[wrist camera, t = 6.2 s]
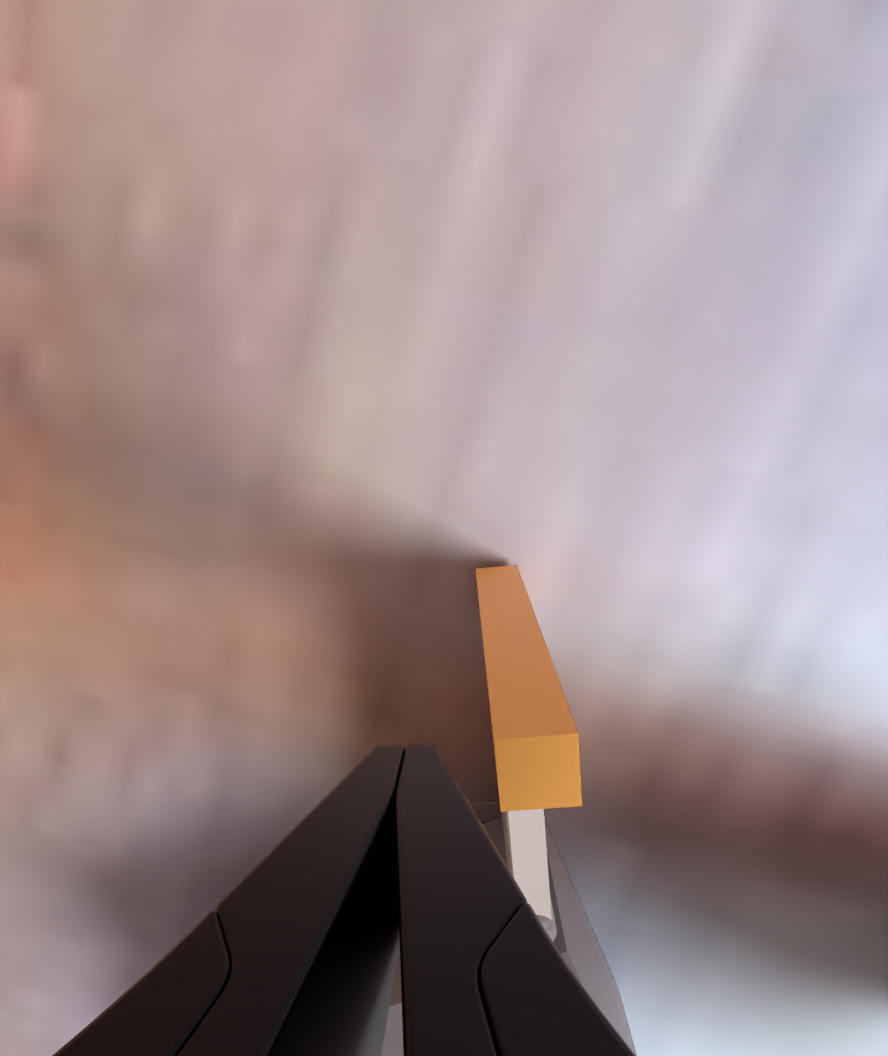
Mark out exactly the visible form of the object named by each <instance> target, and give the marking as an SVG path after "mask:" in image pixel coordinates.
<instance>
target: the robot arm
mask: <svg viewBox="0 0 888 1056" xmlns="http://www.w3.org/2000/svg"><path fill="white" fill-rule="evenodd" d="M399 946H400V968H401V996H402V1024H403V1052H404V1056H636V1055H635V1054H634V1053H633V1051H632V1050H631V1049H630V1047H629V1046H628V1045H627V1044H626V1042H625V1041H624V1040H623V1038H622V1037H621V1036H620V1035H619V1033H618V1032H617V1031H616V1029H615V1028H614V1027H613V1026H612V1024H611V1023H610V1022H609V1020H608V1019H607V1018H606V1017H605V1015H604V1014H603V1013H602V1011H601V1010H600V1009H599V1007H598V1006H597V1004H596V1003H595V1002H594V1000H593V999H592V998H591V996H590V995H589V994H588V992H587V991H586V990H585V988H584V987H583V985H582V984H581V983H580V981H579V980H578V979H577V977H576V976H575V975H574V973H573V972H572V971H571V969H570V968H569V966H568V965H567V963H566V961H565V960H564V958H563V957H562V955H561V954H560V952H559V951H558V949H557V947H556V946H555V944H554V943H553V941H552V940H551V938H550V937H549V935H548V934H547V932H546V930H545V929H544V927H543V925H542V924H541V922H540V920H539V919H538V917H537V915H536V914H535V912H534V910H533V909H532V907H531V905H530V904H529V903H527V900H526V897H525V896H524V894H523V892H522V891H521V889H520V887H519V886H518V884H517V882H516V881H515V879H514V877H513V876H512V874H511V872H510V871H509V869H508V867H507V866H506V864H505V862H504V860H503V859H502V857H501V855H500V854H499V852H498V850H497V849H496V847H495V845H494V844H493V842H492V840H491V839H490V837H489V835H488V834H487V832H486V830H485V829H484V827H483V825H482V823H481V822H480V820H479V818H478V817H477V815H476V813H475V812H474V810H473V808H472V807H471V805H470V803H469V802H468V800H467V798H466V797H465V795H464V793H463V792H462V790H461V788H460V786H459V785H458V783H457V781H456V780H455V778H454V776H453V775H452V773H451V771H450V770H449V768H448V766H447V765H446V763H445V761H444V760H443V758H442V756H441V755H440V753H439V751H438V750H437V748H436V747H435V745H433V744H411V745H408V746H407V747H406V749H405V747H404V746H403V745H380V746H377V747H375V748H374V749H373V750H372V751H371V752H370V753H369V754H368V755H367V756H366V757H365V758H364V759H363V760H362V761H361V762H360V763H359V764H358V765H357V766H356V767H355V768H354V769H353V770H352V771H351V772H350V773H349V774H348V775H347V776H346V777H345V778H344V779H343V780H342V781H341V782H340V783H339V784H338V785H337V786H336V787H335V788H334V789H333V790H332V791H331V792H330V793H329V794H328V795H327V796H326V797H325V798H324V799H323V800H322V801H321V802H320V803H319V804H318V805H317V806H316V807H315V808H314V809H313V810H312V811H311V812H310V813H309V814H308V815H307V816H306V817H305V818H304V819H303V820H302V821H301V822H300V823H299V824H298V825H297V826H296V827H295V828H294V829H293V830H292V831H291V832H290V833H289V834H288V835H287V836H286V837H285V838H284V839H283V840H282V841H281V842H280V843H279V844H278V845H277V846H276V847H275V848H274V849H273V850H272V851H271V852H270V853H269V854H268V855H267V856H266V857H265V858H264V859H263V860H262V861H261V862H260V863H259V864H258V865H257V866H256V867H255V868H254V869H253V870H252V871H251V872H250V873H249V874H248V875H247V876H246V877H245V878H244V879H243V880H242V881H241V882H240V883H239V884H238V885H237V886H236V887H235V888H234V889H233V890H232V891H231V892H230V893H229V894H228V895H227V896H226V897H225V898H224V899H223V900H222V901H221V902H220V903H219V904H218V905H217V906H216V911H211V912H209V913H208V914H207V915H206V916H205V917H204V918H203V919H202V920H201V921H200V922H199V923H198V924H197V925H196V926H195V927H194V928H193V929H192V930H191V931H190V932H189V933H188V934H187V935H186V936H185V937H184V938H183V939H182V940H181V941H180V942H179V943H178V944H177V945H176V946H175V947H174V948H173V949H172V950H171V951H170V952H168V953H167V954H166V955H165V956H164V957H163V958H162V959H161V960H160V961H159V962H158V963H157V964H156V965H155V966H154V967H153V968H152V969H151V970H150V971H149V972H148V973H146V974H145V975H144V976H143V977H142V978H141V979H140V980H139V981H138V982H136V983H135V984H134V985H133V986H132V987H131V988H130V989H129V990H127V991H126V992H125V993H124V994H123V995H122V996H121V997H120V998H118V999H117V1000H116V1001H115V1002H114V1003H113V1004H112V1005H110V1006H109V1007H108V1008H107V1009H106V1010H105V1011H104V1012H103V1013H101V1014H100V1015H99V1016H98V1017H97V1018H96V1019H95V1020H93V1021H92V1022H91V1023H90V1024H89V1025H88V1026H87V1027H85V1028H84V1029H83V1030H82V1031H81V1032H80V1033H78V1034H77V1035H76V1036H75V1037H74V1038H73V1039H71V1040H70V1041H69V1042H68V1043H67V1044H66V1045H64V1046H63V1047H62V1048H61V1049H60V1050H58V1051H57V1052H56V1053H55V1054H54V1055H53V1056H381V1053H382V1047H383V1041H384V1035H385V1029H386V1023H387V1017H388V1011H389V1005H390V999H391V993H392V987H393V981H394V975H395V969H396V963H397V958H398V952H399Z"/></svg>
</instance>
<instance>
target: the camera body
mask: <svg viewBox="0 0 888 1056" xmlns="http://www.w3.org/2000/svg"><path fill="white" fill-rule="evenodd" d="M482 825H483V827H484V829H485V830H486V832H487V834H488V835H489V837H490V839H491V840H492V842H493V844H494V845H495V847H496V849H497V850H498V852H499V854H500V855H501V857H502V859H503V860H504V862H505V864H506V866H507V860H506V850H505V841H504V832H503V822H502V817H500V818H497V819H495V820H492V821H489V822H486V823H483V824H482ZM545 833H546V847H547V861H548V875H549V889H550V897H551V902H552V908H553V913H554V918H555V924H556V929H557V934H556V938H555V940H554V941H553V943H554V944H555V946H556V947H557V949H558V951H559V952H560V954H561V955H562V957H563V958H564V960H565V961H566V963H567V965H568V966H569V968H570V969H571V971H572V972H573V973H574V975H575V976H576V977H577V979H578V980H579V981H580V983H581V984H582V985H583V987H584V988H585V990H586V991H587V992H588V994H589V995H590V996H591V998H592V999H593V1000H594V1002H595V1003H596V1004H597V1006H598V1007H599V1009H600V1010H601V1011H602V1013H603V1014H604V1015H605V1017H606V1018H607V1019H608V1020H609V1022H610V1023H611V1024H612V1026H613V1027H614V1028H615V1029H616V1031H617V1032H618V1033H619V1035H620V1036H621V1037H622V1038H623V1040H624V1041H625V1042H626V1044H627V1045H628V1046H629V1047H630V1049H631V1050H632V1051H633V1053H634V1054H635V1055H636V1056H637V1054H636V1051H635V1047H634V1043H633V1040H632V1036H631V1032H630V1029H629V1025H628V1021H627V1018H626V1014H625V1011H624V1007H623V1003H622V1000H621V996H620V992H619V989H618V986H617V984H616V981H615V979H614V977H613V975H612V972H611V970H610V968H609V966H608V963H607V961H606V959H605V956H604V954H603V952H602V950H601V947H600V945H599V943H598V940H597V938H596V936H595V934H594V931H593V929H592V927H591V925H590V922H589V920H588V918H587V915H586V913H585V911H584V909H583V906H582V904H581V902H580V900H579V897H578V895H577V893H576V890H575V888H574V886H573V884H572V881H571V879H570V877H569V874H568V872H567V870H566V868H565V865H564V863H563V861H562V859H561V856H560V854H559V852H558V849H557V847H556V845H555V843H554V840H553V838H552V836H551V833H550V831H549V829H548V827H547V824H546V822H545ZM381 1056H404V1052H403V1024H402V996H401V968H400V946H399V952H398V958H397V963H396V969H395V975H394V981H393V987H392V993H391V999H390V1005H389V1011H388V1017H387V1023H386V1029H385V1035H384V1041H383V1047H382V1053H381Z"/></svg>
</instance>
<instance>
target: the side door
mask: <svg viewBox="0 0 888 1056" xmlns="http://www.w3.org/2000/svg"><path fill="white" fill-rule="evenodd" d="M476 579H477V589H478V600H479V611H480V620H481V630H482V639H483V649H484V658H485V668H486V677H487V686H488V696H489V705H490V715H491V724H492V734H493V743H494V753H495V762H496V772H497V781H498V791H499V800H500V810H501V813H502V822H503V832H504V841H505V850H506V860H507V867H508V869H509V871H510V872H511V874H512V876H513V877H514V879H515V881H516V882H517V884H518V886H519V887H520V889H521V891H522V892H523V894H524V896H525V897H526V900H527V903H529V904H530V905H531V907H532V909H533V910H534V912H535V914H536V915H537V917H538V919H539V920H540V922H541V924H542V925H543V927H544V929H545V930H546V932H547V934H548V935H549V937H550V938H551V940H552V941H554V940H555V938H556V934H557V929H556V924H555V918H554V913H553V908H552V902H551V897H550V889H549V875H548V861H547V847H546V833H545V819H544V809H549V808H563V807H577V806H582V793H581V775H580V757H579V738H578V731H577V729H576V726H575V723H574V720H573V718H572V715H571V712H570V709H569V707H568V704H567V701H566V698H565V696H564V693H563V690H562V687H561V685H560V682H559V679H558V677H557V674H556V671H555V668H554V666H553V663H552V660H551V657H550V655H549V652H548V649H547V646H546V644H545V641H544V638H543V635H542V633H541V630H540V627H539V624H538V622H537V619H536V616H535V613H534V611H533V608H532V605H531V602H530V600H529V597H528V594H527V592H526V589H525V586H524V583H523V581H522V578H521V575H520V572H519V570H518V567H517V565H510V566H499V567H488V568H477V569H476Z"/></svg>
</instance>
